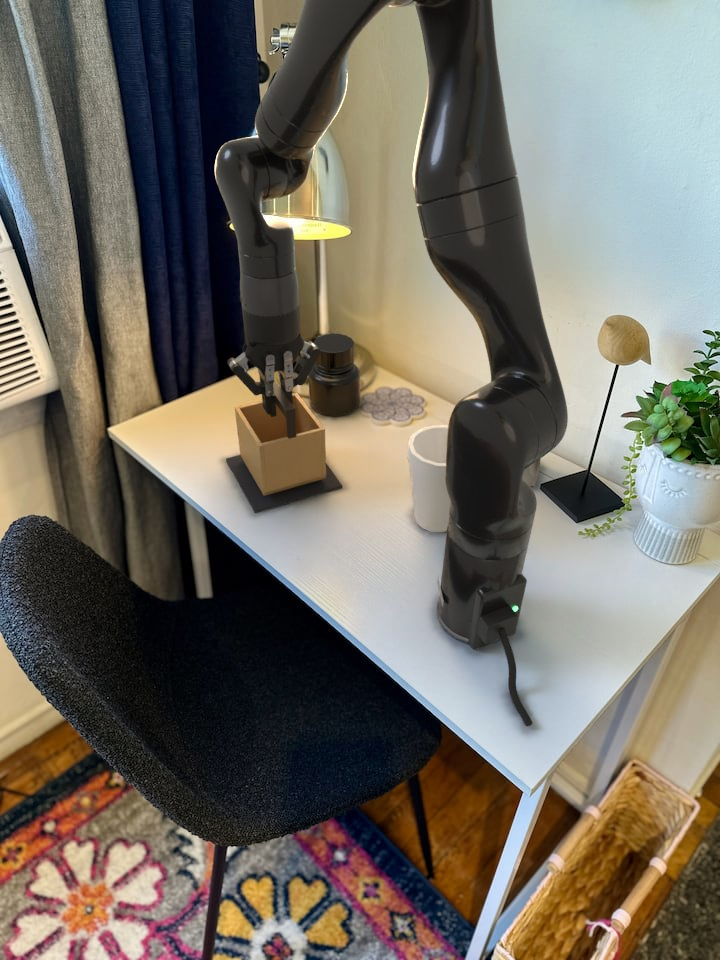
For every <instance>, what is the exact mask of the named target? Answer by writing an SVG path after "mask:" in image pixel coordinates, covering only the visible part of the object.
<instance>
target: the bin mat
mask: <svg viewBox="0 0 720 960" xmlns="http://www.w3.org/2000/svg"><path fill="white" fill-rule="evenodd" d="M225 461H226V463H227V465H228V467H229V468H230V470H231V472H232V474H233V476H234V477H235V479H236V482H237V483H238V485H239V486H240V488H241V490H242V492H243V494H244V496H245V498H246V499H247V501H248V504H249V505H250V507H251V508H252V510H253V512H254V514H257V513H260V512H264V511H267V510H269V509H273V508H277V507H280V506H284V505H288V504H291V503H294V502H297V501H301V500H304V499H307V498H311V497H315V496H318V495H322V494H326V493H328V492H331V491H334V490H339V489H341V488H343V484H342V482H341V481H340V480H339V479H338V477H337V476H336V475H335V473H334V472H333V470H332V469H331V468H330V466H329V465H328V464H327V463H326V478H325V479H321V480H318V481H314V482H311V483H307V484H304V485H300V486H297V487H293V488H290V489H286V490H283V491H279V492H276V493H272V494H269V495H265V496H264V495H263V494H262V492H261V490H260V488H259V487H258V485H257V483H256V481H255V480H254V478H253V476H252V475H251V473H250V471H249V469H248V468H247V466H246V464H245V462H244V461H243V459H242V457H241V456H240V454H238V455H233V456H230V457H226V458H225Z"/></svg>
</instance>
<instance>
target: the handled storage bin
mask: <svg viewBox="0 0 720 960" xmlns="http://www.w3.org/2000/svg"><path fill="white" fill-rule="evenodd" d="M273 383H274V395H275V403H276V414H277V416H275V417H271V416H270V414H267V413H266V411H265V410H264V408H263V402H262V400H259V401H256V402H252V403H248V404H247V403H246V404H243V405H239V406H235V407H234V413H235V422H236V431H237V438H238V447H239V455H240V456H241V457H242V459H243V461H244V462H245V464H246V466H247V468H248V469H249V471H250V473H251V475H252V476H253V478H254V480H255V481H256V483H257V485H258V487H259V488H260V490H261V492H262V494H263V495H264V496H265V495H269V494H272V493H276V492H279V491H283V490H286V489H290V488H293V487H297V486H300V485H304V484H307V483H311V482H314V481H318V480H321V479H325V478H326V464H327V457H326V455H327V453H326V429H325V427H324V426H323V425H322V423H321V422H320V420H319V419H318V418H317V416H315V414H314V413H313V412H312V410H311V409H310V408H309V406H308V405H307V404H306V403H305V401H304V400H303V398H301V396H300V394H299V393H298V392H292V395H293V405H292V403H291V402H290V401H289V399H288V398H287V397H286V395H285V394H284V392H283V391H282V390H281V388H280V387H279V386H280V385H279V384H278V383H277V381H276V380H275V381H274V382H273Z"/></svg>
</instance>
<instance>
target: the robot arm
mask: <svg viewBox="0 0 720 960" xmlns="http://www.w3.org/2000/svg"><path fill="white" fill-rule="evenodd" d="M412 6H415V9H416V13H417V17H418V21H419V24H420V30H421V35H422V41H423V46H424V52H425V58H426V68H427V88H426V89H427V91H426V98H425V99H426V100H425V104H424V110H423V114H422V120H421V124H420V128H419V134H418V138H417V143H416V148H415V154H414V158H413V159H414V161H413V167H412V187H413V188H412V189H413V196H414V201H415V203H416V210H417V215H418V218H419V223H420V227H421V231H422V236H423V240H424V241H423V242H424V245H425V249H426V252H427V255H428V257H429V259H430V261H431V264H432V265H433V267H434V268H435V270H436V271H437V273H438V274H439V276H440V277H441V278H442V280H443V281H444V283H445V284H446V285H447V286H448V288H449V289H450V290H451V291H452V292H453V293H454V295H455V296H456V297H457V298H458V299H459V301H460V302H461V303H462V304H463V305H464V306H465V307H466V309H467V310H468V312H469V313H470V314H471V316H472V317H473V318H474V319H473V320H475V322H476V324H477V326H478V328H479V330H480V332H481V337H482V339H483V342H484V346H485V350H486V354H487V359H488V360H487V361H488V364H489V371H490V382H488V383H487V384H485V385H483V386H481V387H480V388H478V389H476V390H474V391H473V392H471V393H469V394H467V395H465V396H464V397H462V398H461V399H460V400H459V401H458V402H457V403H456V405H455V406H454V407H453V409H452V411H451V414H450V417H449V420H448V424H447V426H448V432H447V449H446V472H445V481H446V488H447V492H448V495H449V498H450V509H449V517H448V526H447V531H446V536H445V543H444V552H443V561H442V569H441V579H440V578H439V577H437V580H436V581H437V583H436V584H437V589H438V593H439V597H438V602H437V605H436V606H437V607H436V616H437V619H438V622H439V624H440V626H441V628H442V629H443V630H444V631H445V632H446V633H447V634H448V635H449V636H451V637H452V638H455V640H458V641H460V642H462V643H465V644H468V645H469V646H470V648H471V649H472V650H473V651H474V650H478V649H480V648H483V647H485V646H488V645H490V644H493V643H497V642H499V641H501V644H502V646H503V650H504V653H505V657H506V660H507V661H506V662H507V668H508V681H507V683H508V691H509V696H510V700H511V702H512V704H513V707H514V708H515V710H516V712H517V713H518V714H519V716H520V718H521V720H522V722H523V724H524V725H525V727H529V726H531V725H533V720H532V719H531V717H530V715H529V713H528V711H527V710H526V708H525V706H524V704H522V703H523V702H522V701H521V698H520V696H519V693H518V688H517V664H516V663H517V662H516V659H515V658H516V657H515V655H514V650H513V648H512V645H511V642H510V639H509V637H510V636H512V635H515V634H516V632H517V628H518V623H519V618H520V614H521V610H522V606H523V601H524V596H525V592H526V588H527V584H528V580H527V578H526V577H525V575H524V574H523V571H524V567H525V561H526V557H527V552H528V547H529V544H530V539H531V535H532V530H533V524H534V520H535V517H536V512H537V506H538V505H537V503H538V502H537V496H536V493H535V490H534V489H533V488H532V486H530V485H529V484H528V483H527V482H525V481H524V480H523V479H522V476H523V473H524V470H525V469H526V468H527V467H529V466H530V465H532V464H533V463H535V462H536V461H537V460H539V459H540V458H541V459H542V458H543V457H545V456H546V455H548V454H549V453H550V452H552V451H553V450H554V449H555V448H557V446H558V445H559V444H560V443H561V441H562V440H563V439H564V437H565V434H566V431H567V429H568V421H569V417H568V416H569V413H568V405H567V400H566V396H565V390H564V387H563V383H562V380H561V377H560V373H559V370H558V366H557V362H556V360H555V356H554V353H553V349H552V345H551V343H550V339H549V335H548V331H547V327H546V324H545V320H544V315H543V311H542V306H541V300H540V296H539V290H538V285H537V280H536V276H535V272H534V271H535V270H534V266H533V260H532V256H531V250H530V246H529V245H530V244H529V238H528V232H527V231H528V230H527V225H526V224H527V223H526V216H525V210H524V204H523V203H524V202H523V198H522V193H521V187H520V182H519V176H518V170H517V167H516V162H515V158H514V157H515V156H514V153H513V148H512V143H511V138H510V131H509V124H508V118H507V111H506V104H505V98H504V92H503V86H502V79H501V72H500V66H499V60H498V51H497V43H496V33H495V22H494V21H495V19H494V9H493V7H494V6H493V0H304V3H303V6H302V9H301V11H300V15H299V19H298V22H297V26H296V28H295V31H294V34H293V37H292V39H291V42H290V45H289V47H288V49H287V52H286V53H285V56H284V57H283V60H282V62H281V63H280V66H279V68H278V70H277V72H276V73H275V75H274V77H273V78H272V81H271V82H270V85H269V86H268V88H267V90H266V91H265V93H264V95H263V97H262V99H261V100H260V102H259V105H258V108H257V110H256V113H255V118H254V128H255V131H256V134H257V135H254V136H249V137H242V138H237V139H232V140H229V141H227V142H225V143H224V144H223V145H221V147H220V148H219V150H218V152H217V154H216V158H215V163H214V176H215V181H216V184H217V187H218V189H219V193H220V195H221V197H222V200H223V202H224V205H225V207H226V208H225V209H226V210H227V213H228V216H229V219H230V222H231V224H232V227H233V231H234V234H235V236H236V240H237V241H236V242H237V250H238V261H239V273H240V275H239V278H240V279H239V293H240V295H239V300H240V303H241V311H242V320H243V321H242V322H243V332H244V344H243V346H242V353H240V355H238V356H237V357H236V358H234V357H230V358H229V359H228V360H227V361H226V362H227V366H228V367H229V368H230V370H231V371H232V373H233V374H234V375H235V376H236V377H237V378H238V379H239V380H240V382H242V383H243V385H244V386H245V387H246V388H247V390H249V391H250V392H251V393H252V395H254V396H256V397H257V396H260V395H261V401H262V402H263V408H264V410H265V411H266V413H267V414H270V416H271V417H275V416H277V414H276V403H275V395H274V383H273V382H274V381H275V382H276V380H275V373H277V372H278V379H279V383H280V385H278V386H279V387H280V388H281V390H282V391H283V392H284V394H285V395H286V397H287V398H288V399H289V401H290V402H291V403H292V405H293V395H292V394H293V391H294V389H295V388H296V387H297V386H303V385H305V383H306V381H307V380H308V378H309V373H310V372H311V370H312V368H313V366H314V364H315V362H316V360H317V358H318V357H319V355H320V350H319V349H318V347H317V346H316V345H315V344H314V341H312V340H310V341H308V342H307V341H306V340H305V339H304V338H303V336H302V334H301V331H302V330H301V310H300V309H301V308H300V289H299V288H300V287H299V280H298V275H297V267H296V247H295V233H294V229H293V226H292V224H291V223H290V222H289V221H288V220H287V219H285V218H284V217H281V216H277V215H276V216H275V215H264V214H263V212H262V208H261V205H262V204H261V203H264V202H265V203H266V202H268V201H273V200H276V199H280V198H284V197H288V196H290V195H292V194H294V193H295V192H297V191H298V190H299V189H300V188H301V187H302V186H303V185H304V184H305V182H306V181H307V178H308V175H309V172H310V168H311V163H312V162H313V161H312V160H313V157H314V153H315V148H316V145H317V144H318V143H319V141H320V140H321V138H322V137H323V136H324V134H325V133H326V131H327V130H328V129H329V127H330V126H331V124H332V123H333V121H334V120H335V118H336V117H337V115H338V113H339V111H340V109H341V108H342V105H343V103H344V100H345V97H346V94H347V88H348V80H349V63H348V62H349V61H348V60H349V59H348V58H349V55H350V54H349V53H350V50H351V48H352V47H353V44H354V43H355V41H356V39H357V38H358V36H359V35H360V34H361V33H362V31H363V30H364V29H365V28H366V27H367V26H368V25H369V24H370V22H371V21H372V20H373V19H374V18H375V17H376V16H377V15H378V14H379V13H380V12H381V11H382V10H383V9H384V8H404V7H412ZM297 358H298V360H297ZM296 360H297V362H296ZM248 361H249V362H250V363H251V364H252V365H253V366H254V367H255V368H256V369H257V371H258V375H259V381H256V380H255V379H254V378H253V377H252V376H251V375H250V373H248V371H249V365H248ZM295 362H296V364H295V365H294V363H295ZM293 365H294V366H293Z"/></svg>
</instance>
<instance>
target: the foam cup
mask: <svg viewBox="0 0 720 960" xmlns="http://www.w3.org/2000/svg"><path fill="white" fill-rule="evenodd" d="M447 432H448V424H445V425H444V424H443V425H441V424H434V425H429V426H425V427H422V428H419V429H418V430H416V431H415V432H413V433H412V434H411V435H410V438H409V440H408V443H407V453H406V454H407V456H406V459H407V461H408V467H409V473H410V474H409V476H410V477H409V478H410V485H411V486H410V487H411V498H412V506H413V514H414V516H413V517H414V520H415V522H416V524H417V525H418V526H419V527H420V528H422V529H423V530H426V531H429V532H432V533H444V532H447V526H448V517H449V509H450V498H449V495H448V492H447V488H446V481H445V472H446V449H447Z"/></svg>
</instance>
